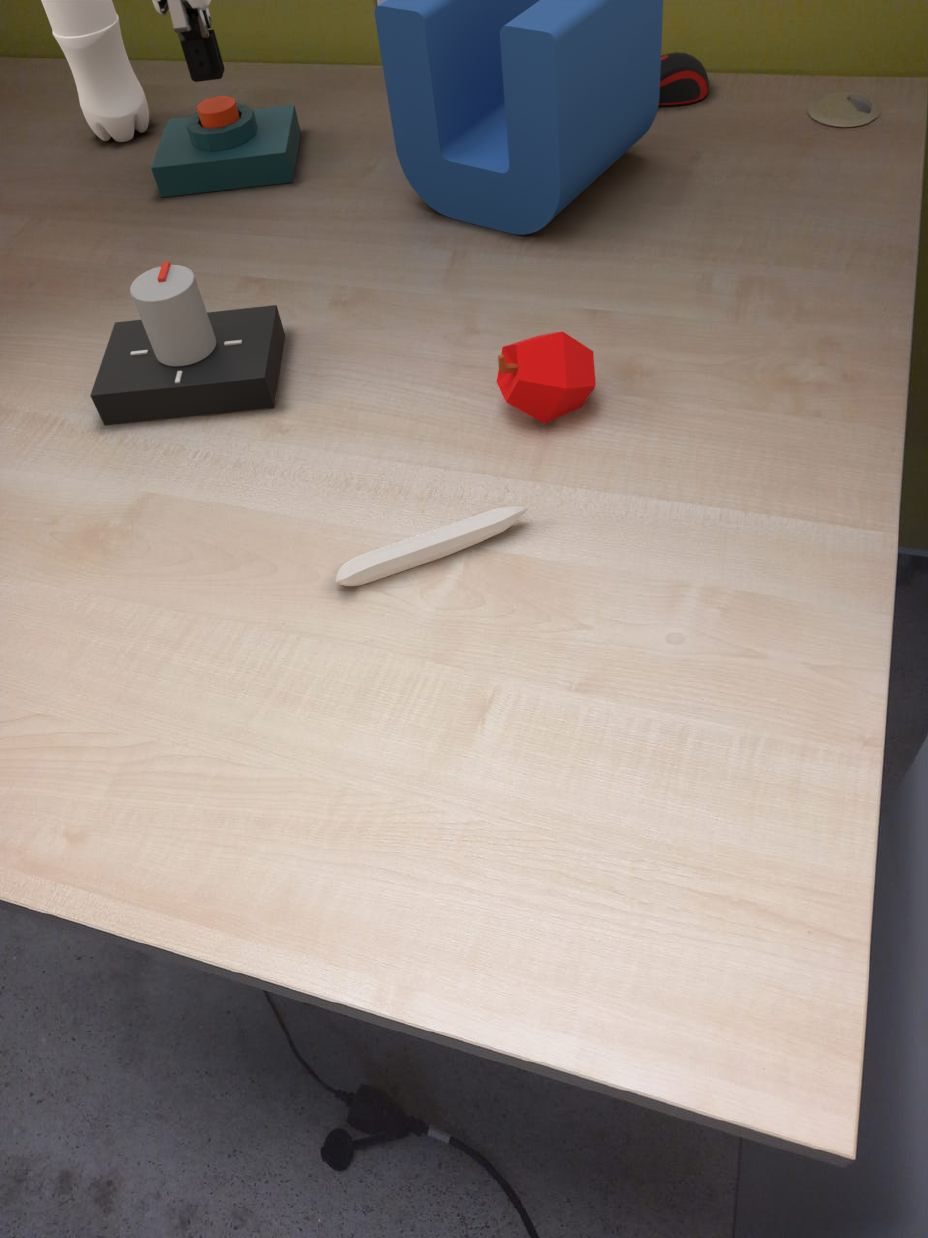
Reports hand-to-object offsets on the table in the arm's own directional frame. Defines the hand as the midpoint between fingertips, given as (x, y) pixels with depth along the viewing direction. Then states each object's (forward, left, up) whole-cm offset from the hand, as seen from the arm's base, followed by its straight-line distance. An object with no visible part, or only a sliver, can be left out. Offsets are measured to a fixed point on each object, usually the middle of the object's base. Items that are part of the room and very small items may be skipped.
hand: (208, 76), depth 103 cm
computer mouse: (+35, +30, -9) cm, 47 cm away
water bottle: (-18, +1, -9) cm, 20 cm away
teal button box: (0, 0, -9) cm, 9 cm away
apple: (+51, -20, -9) cm, 56 cm away
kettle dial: (+23, -30, -6) cm, 38 cm away
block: (+32, +9, -9) cm, 34 cm away
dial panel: (+23, -30, -9) cm, 39 cm away
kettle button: (0, 0, -5) cm, 5 cm away
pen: (+52, -37, -9) cm, 65 cm away
